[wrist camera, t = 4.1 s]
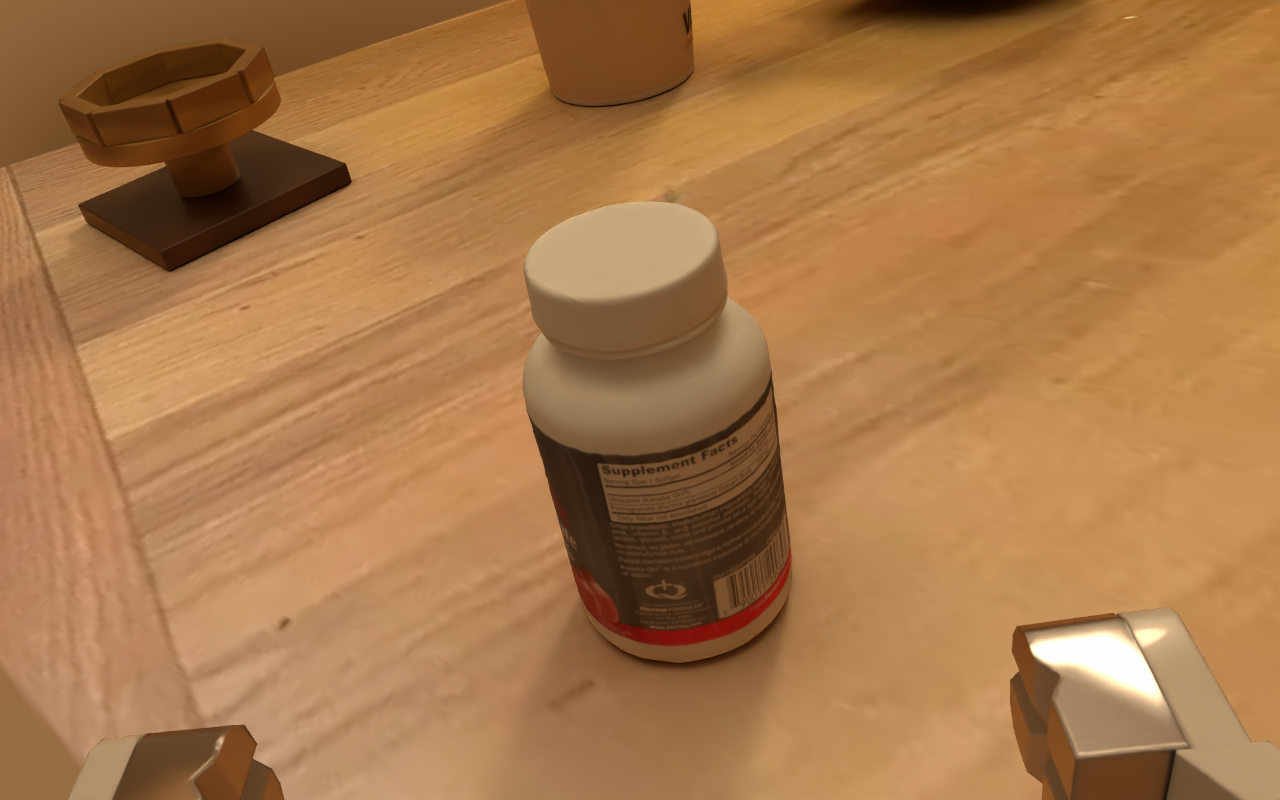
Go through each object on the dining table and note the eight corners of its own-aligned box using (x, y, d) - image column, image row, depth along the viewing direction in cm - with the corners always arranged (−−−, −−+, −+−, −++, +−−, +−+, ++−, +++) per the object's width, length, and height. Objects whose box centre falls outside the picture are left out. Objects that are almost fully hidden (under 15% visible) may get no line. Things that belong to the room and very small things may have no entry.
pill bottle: (567, 543, 29) (478, 219, 24) (758, 492, 30) (715, 162, 24) (602, 697, 25) (504, 345, 19) (825, 635, 25) (793, 273, 20)
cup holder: (169, 271, 47) (102, 131, 44) (86, 222, 54) (21, 95, 50) (353, 182, 52) (307, 48, 48) (257, 146, 58) (210, 25, 55)
